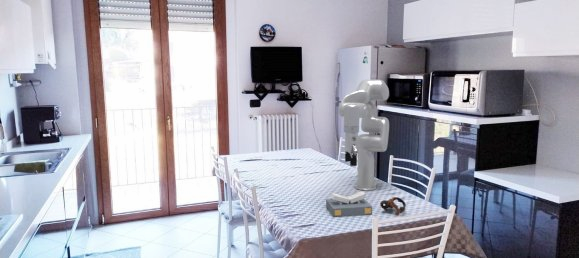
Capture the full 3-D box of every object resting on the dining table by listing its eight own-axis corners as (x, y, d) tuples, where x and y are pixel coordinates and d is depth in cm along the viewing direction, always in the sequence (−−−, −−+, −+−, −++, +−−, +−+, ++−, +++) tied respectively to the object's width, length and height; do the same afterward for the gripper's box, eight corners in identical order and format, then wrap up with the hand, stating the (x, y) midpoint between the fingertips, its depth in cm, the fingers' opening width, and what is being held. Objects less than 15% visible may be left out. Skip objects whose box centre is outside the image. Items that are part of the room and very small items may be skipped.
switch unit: (362, 204, 200) (362, 195, 199) (372, 214, 186) (372, 204, 185) (326, 206, 197) (326, 197, 196) (333, 217, 183) (333, 206, 182)
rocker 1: (345, 200, 193) (347, 196, 193) (348, 203, 189) (349, 199, 189) (330, 196, 192) (332, 192, 191) (333, 199, 187) (334, 195, 187)
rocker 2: (363, 194, 194) (362, 191, 194) (366, 197, 190) (365, 193, 189) (348, 200, 193) (347, 196, 193) (351, 203, 189) (349, 199, 189)
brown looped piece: (396, 208, 196) (404, 196, 192) (402, 222, 188) (410, 211, 184) (375, 203, 193) (382, 192, 189) (379, 218, 186) (387, 206, 181)
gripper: (364, 131, 184) (363, 167, 186) (354, 127, 201) (353, 159, 203) (348, 132, 183) (347, 167, 185) (339, 127, 200) (339, 160, 202)
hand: (350, 163), depth 194 cm, fingers open, 9 cm apart
